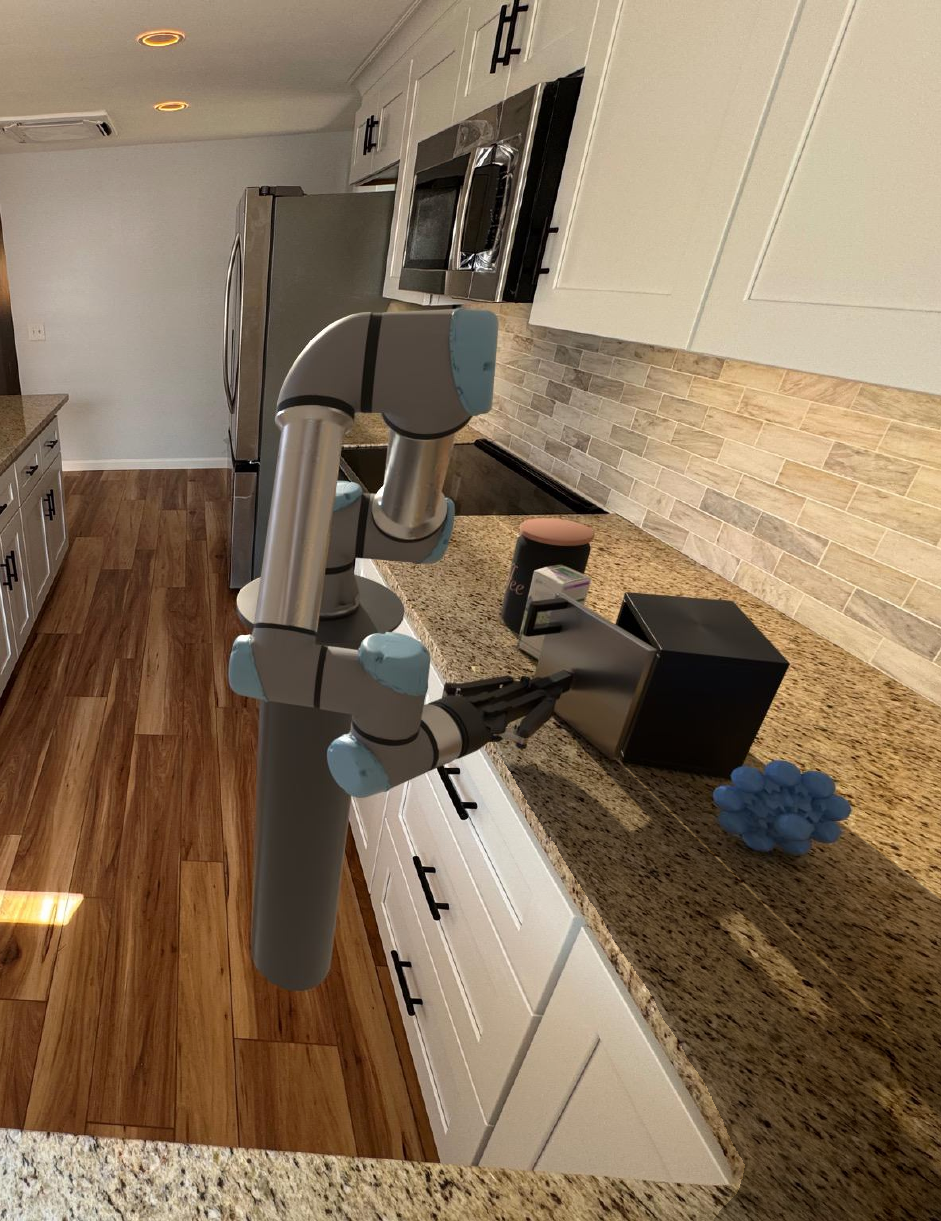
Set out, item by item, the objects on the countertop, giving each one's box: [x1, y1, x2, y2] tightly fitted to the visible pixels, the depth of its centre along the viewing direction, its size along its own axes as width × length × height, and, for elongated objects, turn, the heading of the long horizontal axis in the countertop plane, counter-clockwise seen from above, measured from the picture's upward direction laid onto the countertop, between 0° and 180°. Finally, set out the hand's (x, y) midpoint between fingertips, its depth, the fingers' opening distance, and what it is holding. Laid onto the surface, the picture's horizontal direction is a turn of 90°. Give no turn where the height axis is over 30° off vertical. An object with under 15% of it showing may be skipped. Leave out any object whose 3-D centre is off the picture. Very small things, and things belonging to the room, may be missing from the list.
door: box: [522, 593, 657, 761], centre depth 90 cm, size 6×16×17 cm, turn 7°
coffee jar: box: [500, 517, 596, 634], centre depth 115 cm, size 11×11×18 cm
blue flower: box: [712, 759, 852, 856], centre depth 70 cm, size 12×7×12 cm, turn 72°
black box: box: [614, 591, 791, 780], centre depth 87 cm, size 12×16×17 cm
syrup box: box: [516, 565, 592, 661], centre depth 107 cm, size 6×6×14 cm
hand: (566, 680), depth 92 cm, fingers closed
